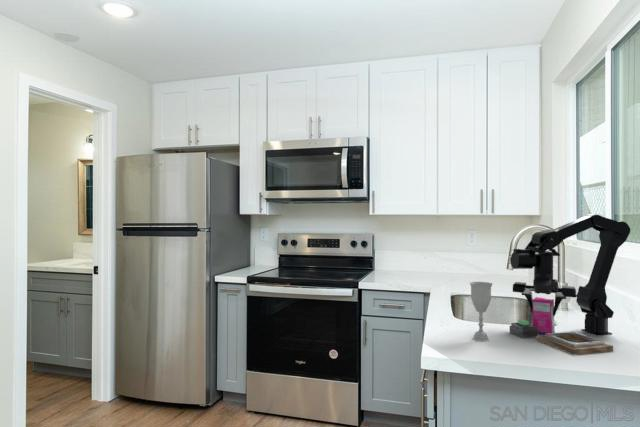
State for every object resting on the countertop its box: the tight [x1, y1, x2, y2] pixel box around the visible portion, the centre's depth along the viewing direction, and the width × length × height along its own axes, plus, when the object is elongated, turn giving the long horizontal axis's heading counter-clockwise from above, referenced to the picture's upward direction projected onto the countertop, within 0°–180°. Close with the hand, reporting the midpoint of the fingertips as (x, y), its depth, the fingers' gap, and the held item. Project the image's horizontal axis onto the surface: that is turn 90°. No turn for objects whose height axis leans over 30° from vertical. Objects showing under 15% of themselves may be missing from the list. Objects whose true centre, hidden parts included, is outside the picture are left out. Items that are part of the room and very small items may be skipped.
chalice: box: [469, 281, 493, 342], centre depth 131 cm, size 7×7×18 cm
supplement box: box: [532, 296, 556, 335], centre depth 139 cm, size 6×6×12 cm
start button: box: [517, 319, 530, 326], centre depth 136 cm, size 3×3×1 cm
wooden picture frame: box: [536, 330, 614, 355], centre depth 125 cm, size 14×14×2 cm
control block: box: [509, 322, 539, 339], centre depth 136 cm, size 6×6×4 cm
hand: (543, 314), depth 139 cm, fingers closed on supplement box, 6 cm apart
